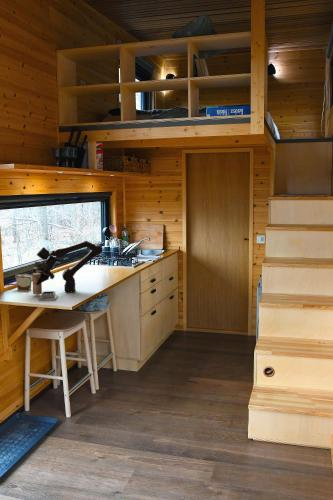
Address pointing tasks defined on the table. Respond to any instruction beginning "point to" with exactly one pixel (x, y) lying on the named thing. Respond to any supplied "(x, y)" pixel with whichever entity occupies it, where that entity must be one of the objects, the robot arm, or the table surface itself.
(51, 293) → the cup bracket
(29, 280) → the food container
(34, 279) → the walnut post
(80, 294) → the table surface
